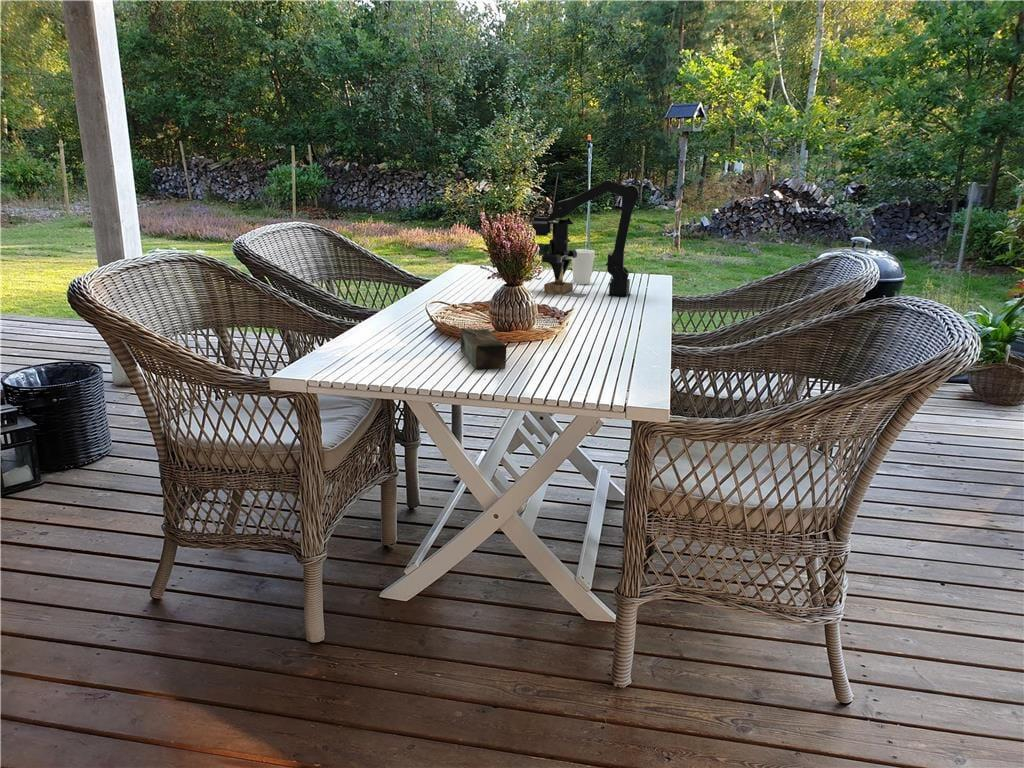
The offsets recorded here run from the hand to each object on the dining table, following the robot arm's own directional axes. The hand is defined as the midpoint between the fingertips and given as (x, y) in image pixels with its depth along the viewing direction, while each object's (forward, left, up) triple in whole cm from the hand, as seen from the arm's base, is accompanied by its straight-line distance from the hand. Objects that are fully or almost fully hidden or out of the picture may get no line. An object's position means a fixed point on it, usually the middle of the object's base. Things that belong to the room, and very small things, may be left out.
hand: (558, 279), depth 278 cm
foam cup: (+1, -23, -5) cm, 24 cm away
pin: (0, 0, -4) cm, 4 cm away
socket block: (0, 0, -5) cm, 5 cm away
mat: (-8, +2, -5) cm, 10 cm away
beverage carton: (-22, +93, -6) cm, 95 cm away
